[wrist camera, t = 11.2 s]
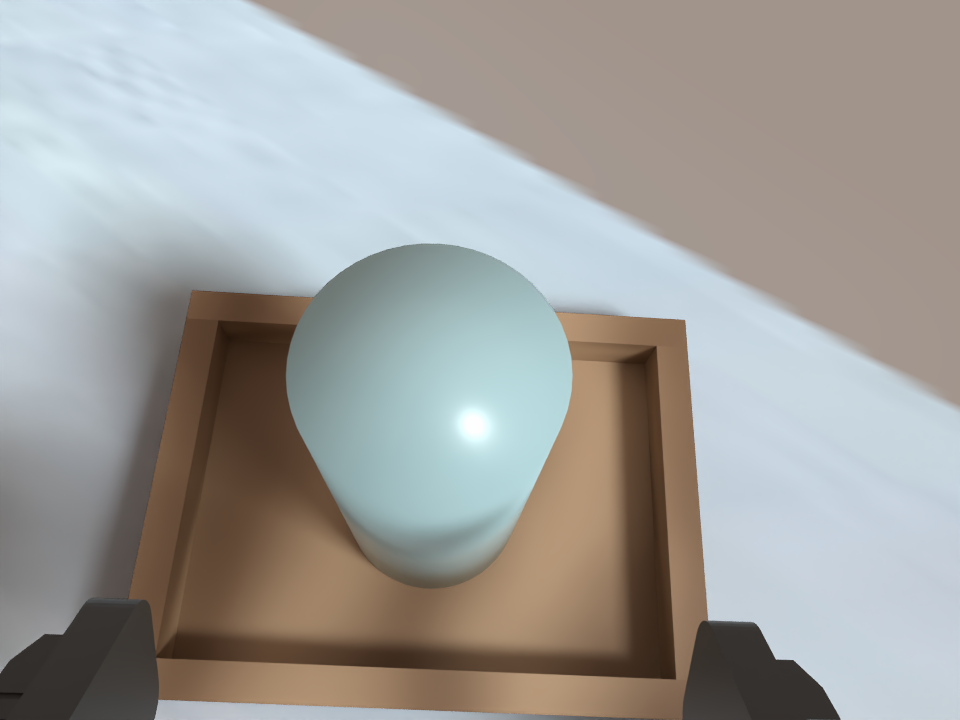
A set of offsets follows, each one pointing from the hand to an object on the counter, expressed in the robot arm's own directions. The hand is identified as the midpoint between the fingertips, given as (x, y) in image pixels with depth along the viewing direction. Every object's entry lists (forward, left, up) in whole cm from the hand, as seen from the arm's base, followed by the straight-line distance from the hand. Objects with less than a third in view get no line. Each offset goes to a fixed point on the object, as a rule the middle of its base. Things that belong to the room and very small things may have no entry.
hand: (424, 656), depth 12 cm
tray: (0, +5, -13) cm, 14 cm away
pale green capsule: (0, +5, -12) cm, 13 cm away
